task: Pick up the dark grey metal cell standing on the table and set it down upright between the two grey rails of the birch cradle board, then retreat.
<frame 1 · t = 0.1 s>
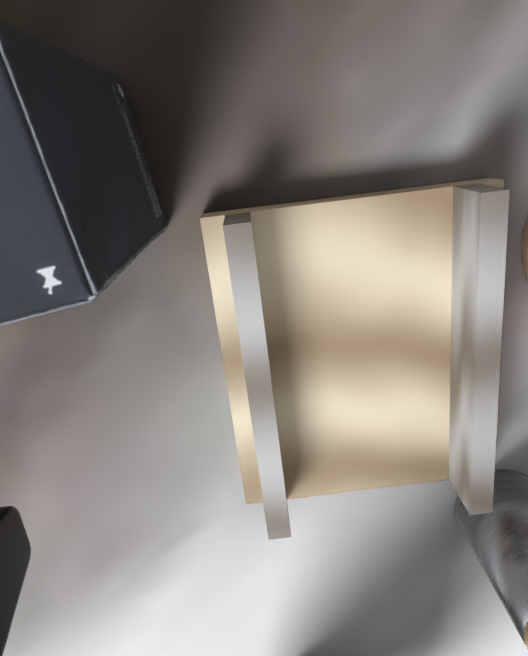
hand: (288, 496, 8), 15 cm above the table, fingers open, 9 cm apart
small box: (24, 184, 21), on the table
cradle: (354, 349, 24), on the table
cell: (495, 504, 27), on the table
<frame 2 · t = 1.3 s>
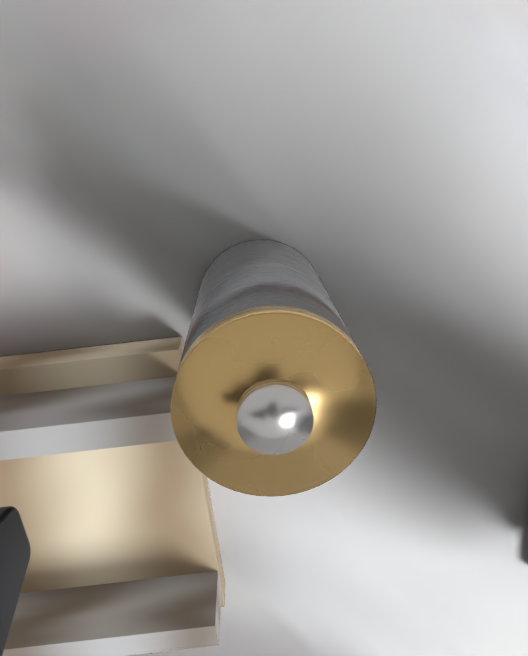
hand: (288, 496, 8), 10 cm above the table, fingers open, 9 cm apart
cradle: (34, 492, 21), on the table
cell: (261, 301, 18), on the table
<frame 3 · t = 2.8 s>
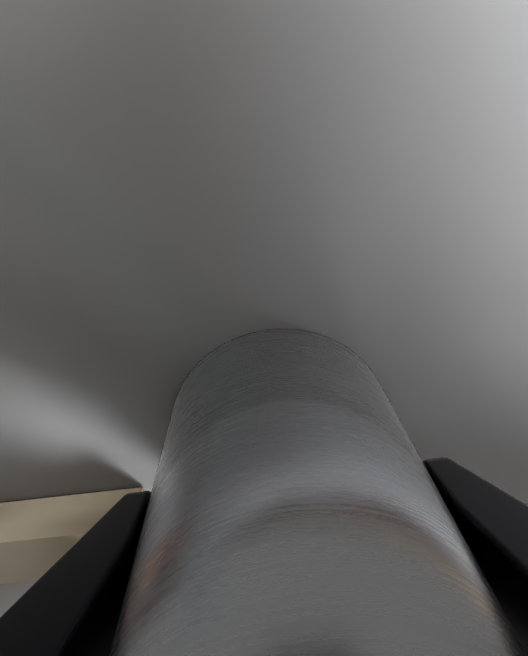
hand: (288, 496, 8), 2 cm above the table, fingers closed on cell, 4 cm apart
cell: (280, 429, 10), on the table, touching gripper
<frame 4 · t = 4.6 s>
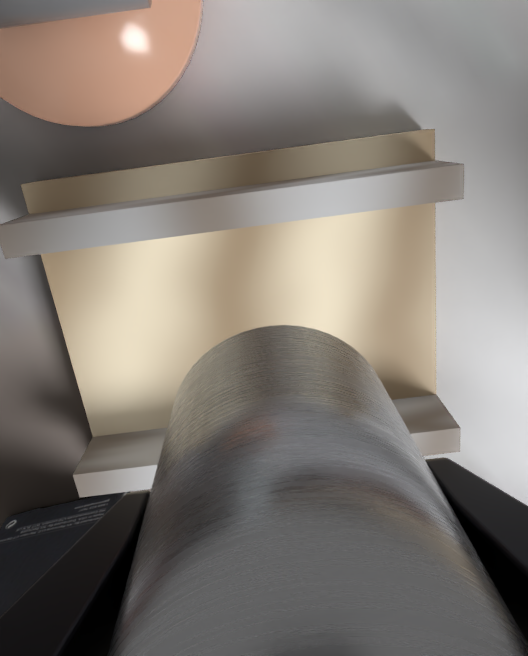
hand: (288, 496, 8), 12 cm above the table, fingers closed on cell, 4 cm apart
small box: (105, 579, 25), on the table
cradle: (250, 313, 20), on the table
cell: (280, 426, 10), point 10 cm above the table, touching gripper
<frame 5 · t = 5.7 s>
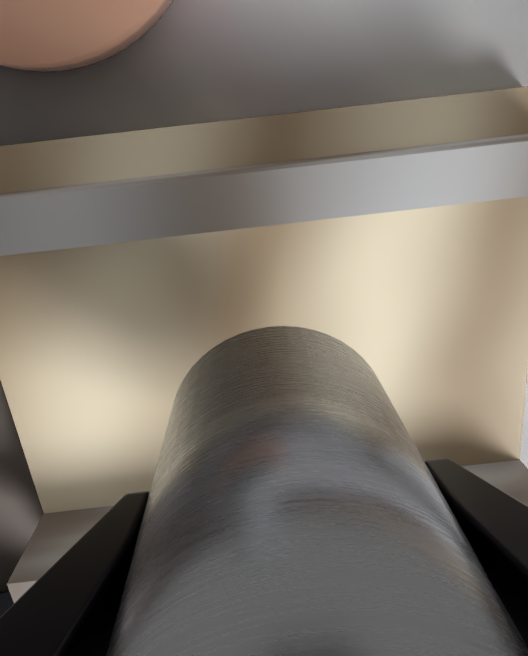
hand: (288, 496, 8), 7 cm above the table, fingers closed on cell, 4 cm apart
cradle: (265, 345, 15), on the table
cell: (280, 427, 10), point 5 cm above the table, touching gripper
when the fingers open (5 cm above the table, at t = 6.4 s): cell drops 1 cm, resting on cradle.
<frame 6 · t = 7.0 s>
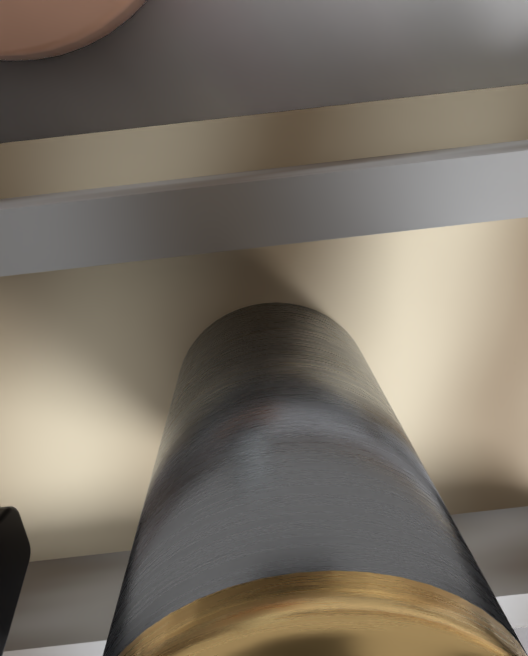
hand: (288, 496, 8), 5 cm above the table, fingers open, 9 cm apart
cradle: (271, 373, 13), on the table
cell: (273, 393, 12), point 1 cm above the table, touching cradle
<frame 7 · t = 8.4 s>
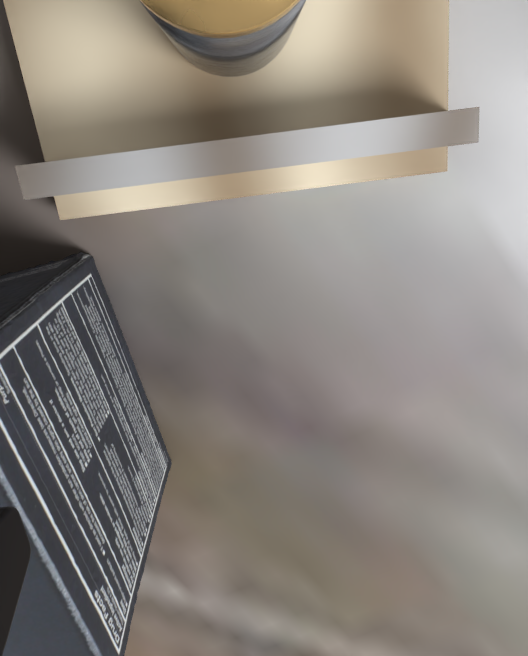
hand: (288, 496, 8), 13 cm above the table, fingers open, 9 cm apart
small box: (68, 381, 22), on the table
cradle: (230, 11, 17), on the table
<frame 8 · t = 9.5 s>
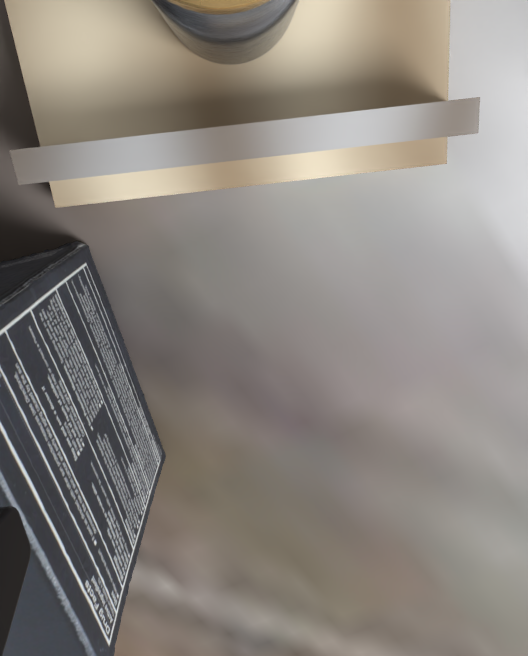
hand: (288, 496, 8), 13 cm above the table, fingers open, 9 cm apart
small box: (62, 372, 22), on the table
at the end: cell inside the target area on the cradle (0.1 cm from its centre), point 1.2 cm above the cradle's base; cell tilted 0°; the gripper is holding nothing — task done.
